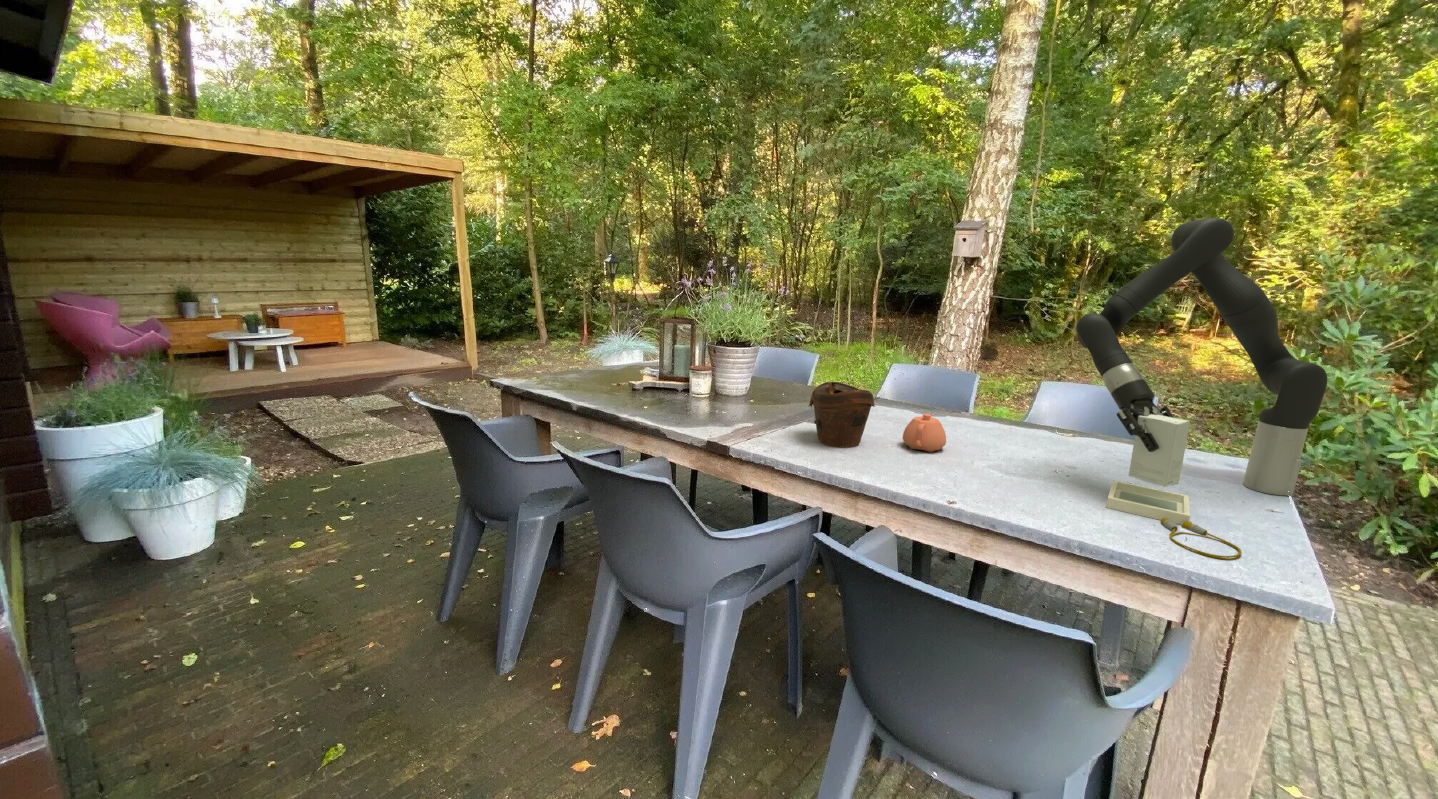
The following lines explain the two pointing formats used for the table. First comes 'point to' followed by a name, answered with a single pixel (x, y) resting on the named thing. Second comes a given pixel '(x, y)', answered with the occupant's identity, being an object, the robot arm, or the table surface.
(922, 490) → the table surface
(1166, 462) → the skincare box
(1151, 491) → the shallow cream tray
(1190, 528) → the extension cord
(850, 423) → the case
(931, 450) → the sugar bowl
